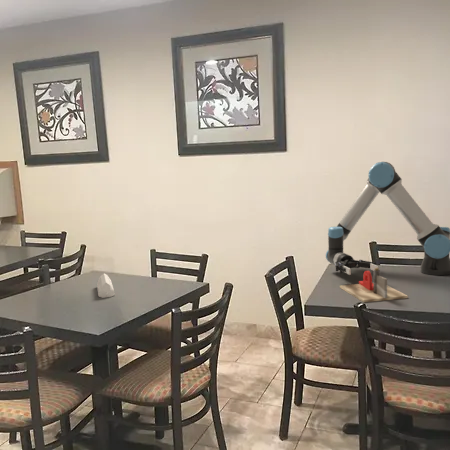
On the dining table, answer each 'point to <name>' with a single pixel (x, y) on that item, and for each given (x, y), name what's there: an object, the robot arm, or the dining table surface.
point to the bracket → (367, 281)
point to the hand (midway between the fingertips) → (363, 270)
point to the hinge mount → (378, 293)
